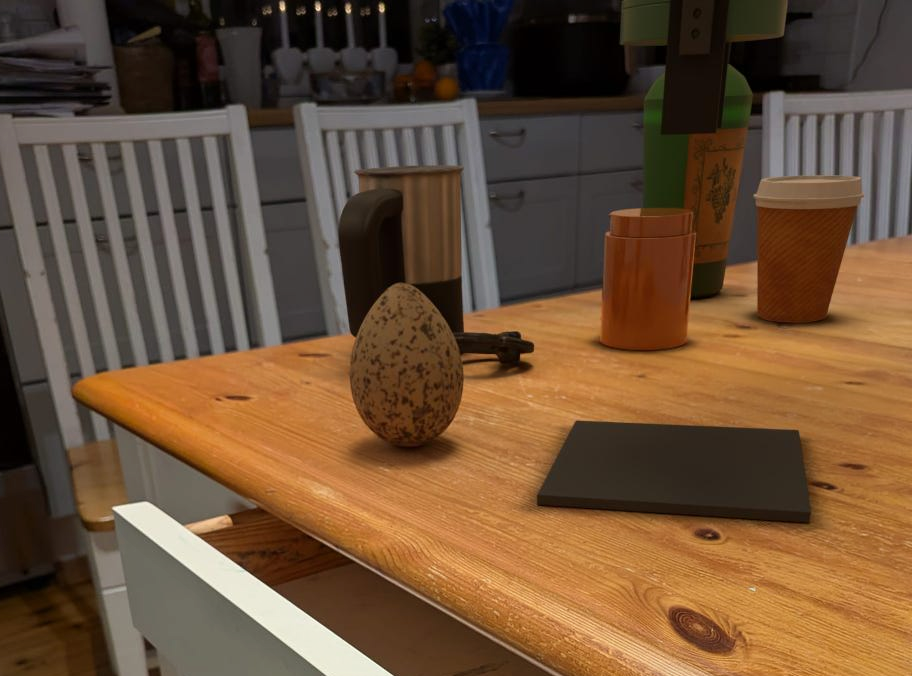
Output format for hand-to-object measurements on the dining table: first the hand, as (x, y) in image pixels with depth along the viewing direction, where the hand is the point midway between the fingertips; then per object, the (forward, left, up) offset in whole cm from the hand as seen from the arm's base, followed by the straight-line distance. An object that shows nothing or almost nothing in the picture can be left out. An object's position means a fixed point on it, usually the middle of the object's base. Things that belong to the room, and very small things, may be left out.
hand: (693, 130), depth 52 cm
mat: (-1, +5, -17) cm, 18 cm away
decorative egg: (+16, +3, -18) cm, 24 cm away
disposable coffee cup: (-9, -41, -18) cm, 46 cm away
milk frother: (+20, -21, -18) cm, 34 cm away
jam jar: (+4, -29, -17) cm, 34 cm away
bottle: (+2, -53, -18) cm, 56 cm away
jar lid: (0, 0, +6) cm, 6 cm away
